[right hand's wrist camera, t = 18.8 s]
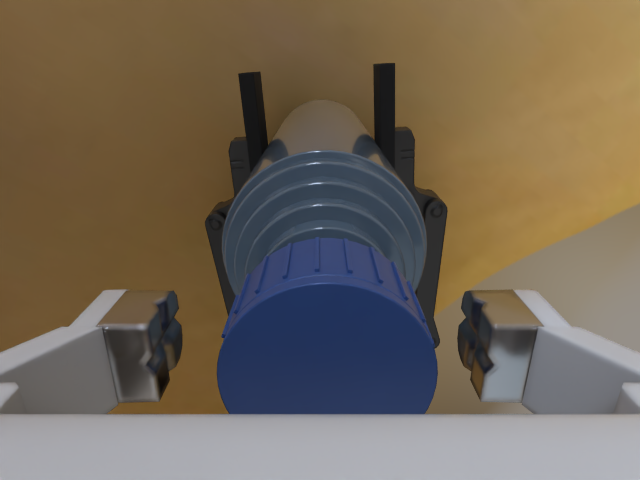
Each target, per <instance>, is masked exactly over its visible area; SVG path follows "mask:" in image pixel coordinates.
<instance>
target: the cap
mask: <svg viewBox="0 0 640 480" xmlns="http://www.w3.org/2000/svg"><path fill="white" fill-rule="evenodd" d="M221 337H222V338H224V341H223V343H222V346H221V349H220V353H219V358H218V362H217V380H218V387H219V391H220V395H221V398H222V400H223V403H224V405H225V407H226V409H227V411H228V412H229V414H425V412H426V411H427V409H428V407H429V405H430V403H431V401H432V399H433V395H434V392H435V388H436V384H437V375H438V370H437V359H436V354H435V350H434V347H435V344H434V341H433V339H432V336H431V334H430V331H429V329H428V326H427V324H426V319H425V316H424V314H423V311H422V309H421V307H420V304H419V302H418V299H417V297H416V294H415V292H414V290H413V287H412V285H411V283H410V281H406V279H405V278H404V276H403V275H402V273H401V272H400V271H399V270H398V268H397V265H396V263H395V262H394V261H393V262H391V261H390V260H388V259H387V258H386V257H384V256H383V255H382V254H380V253H379V252H377V251H375V249H374V248H373V247H367V246H365V245H362V244H360V243H357V242H353V241H349V240H348V239H346V238H344V239H336V238H319V237H315V239H308V240H304V241H300V242H296V243H293V244H292V243H289V244H288V246H285V247H283V248H281V249H279V250H277V251H276V252H274V253H272V254H271V255H270V256H267V255H266V256H265V257H264V259H263V261H262V262H261V263H260V264H259V265H258V266H257V267H256V268H255V269H254V270H253V271H252V273H251V274H249V273H248V274H247V275H246V278H245V280H244V283H243V286H242V289H241V292H240V295H236V297H235V300H234V303H233V306H232V308H231V311H230V314H229V317H228V319H227V322H226V325H225V328H224V330H223V333H222V336H221Z"/></svg>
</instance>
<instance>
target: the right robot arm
mask: <svg viewBox="0 0 640 480" xmlns="http://www.w3.org/2000/svg"><path fill="white" fill-rule="evenodd" d="M178 309H179V306H178V300H177V295H176V294H175V292H174V291H167V290H128V289H121V290H104V291H103V292H102V293H101V294H100V295H99V296H98V297H97V298H96V299H95V300H94V301H93V302H92V303H91V304H90V305H89V306H88V307H87V308H86V309H85V310H84V311H83V312H82V313H81V314H80V315H79V316H78V318H77V319H76V320H75V321H74V322H73V323H72V324H71V325H70V326H69V327H59V328H57V329H55V330H52V331H50V332H48V333H45V334H43V335H40V336H38V337H36V338H33V339H31V340H29V341H26V342H24V343H21V344H19V345H17V346H14V347H12V348H9V349H7V350H5V351H2V352H0V480H640V352H637V351H635V350H633V349H630V348H628V347H626V346H623V345H621V344H619V343H616V342H614V341H611V340H609V339H607V338H604V337H602V336H600V335H597V334H595V333H592V332H590V331H588V330H585V329H583V328H581V327H571V326H570V325H569V324H568V323H567V322H566V321H565V320H564V319H563V317H562V316H561V315H560V314H559V313H558V312H557V311H556V310H555V309H554V308H553V307H552V306H551V305H550V304H549V303H548V302H547V301H546V300H545V299H544V298H543V297H542V296H541V295H540V294H539V293H538V292H537V291H536V290H532V289H526V290H477V291H466V292H465V293H464V296H463V299H462V306H461V309H462V311H463V313H464V315H465V316H466V318H465V319H464V320H463V322H462V323H461V324H460V325H459V329H458V338H457V339H458V351H459V355H460V359H461V361H462V363H463V366H464V367H465V368H467V369H469V370H470V371H472V372H471V379H470V380H471V382H472V385H473V387H474V389H475V391H476V393H477V395H478V397H479V399H480V401H481V402H517V403H522V405H523V406H524V407H526V408H527V409H528V410H530V411H531V412H532V413H533V414H107V413H108V412H109V411H111V410H112V409H113V408H115V407H116V406H117V405H118V403H124V402H159V401H160V399H161V397H162V395H163V393H164V391H165V389H166V387H167V385H168V383H169V380H170V379H169V372H168V371H170V370H171V369H173V368H175V367H176V366H177V363H178V361H179V359H180V355H181V350H182V328H181V325H180V324H179V323H178V322H177V320H176V319H175V318H174V316H175V315H176V313H177V311H178Z"/></svg>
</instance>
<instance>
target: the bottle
mask: <svg viewBox="0 0 640 480" xmlns="http://www.w3.org/2000/svg"><path fill="white" fill-rule="evenodd" d="M315 237H319V238H336V239H344V238H346V239H348V240H349V241H353V242H357V243H360V244H362V245H365V246H367V247H373V248H374V249H375V251H377V252H379V253H380V254H382V255H383V256H384V257H386V258H387V259H388V260H390V261H391V262H393V261H394V262H395V263H396V265H397V268H398V270H399V271H400V272H401V273H402V275H403V276H404V278H405V279H406V281H410V283H411V285H412V287H413V290H414V292H415V291H416V289H417V288H418V285H419V282H420V279H421V277H422V273H423V269H424V264H425V259H426V252H427V237H426V229H425V224H424V220H423V217H422V214H421V211H420V209H419V206H418V205H417V203H416V201H415V199H414V197H413V196H412V194H411V193H410V191H409V190H408V188H407V187H406V185H405V184H404V183H403V181H402V180H401V178H400V177H399V175H398V174H397V173H396V171H395V170H394V168H393V167H392V165H391V164H390V162H389V161H388V160H387V158H386V157H385V155H384V154H383V152H382V151H381V150H380V148H379V147H378V145H377V144H376V142H375V141H374V139H373V138H372V137H371V135H370V134H369V132H368V131H367V129H366V128H365V126H364V125H363V124H362V122H361V121H360V119H359V118H358V117H357V115H356V114H355V113H354V112H353V111H352V110H350V109H349V108H348V107H346V106H345V105H343V104H341V103H338V102H336V101H332V100H324V99H322V100H313V101H309V102H306V103H304V104H301V105H300V106H298V107H296V108H295V109H294V110H293V111H291V112H290V113H289V115H288V116H287V117H286V118H285V120H284V121H283V123H282V124H281V126H280V127H279V129H278V131H277V132H276V134H275V135H274V137H273V139H272V140H271V142H270V143H269V145H268V147H267V148H266V150H265V151H264V153H263V155H262V156H261V158H260V159H259V161H258V163H257V164H256V166H255V167H254V169H253V170H252V172H251V174H250V175H249V177H248V178H247V180H246V182H245V183H244V185H243V186H242V188H241V190H240V191H239V193H238V194H237V196H236V198H235V199H234V201H233V203H232V205H231V207H230V209H229V211H228V214H227V217H226V220H225V223H224V229H223V235H222V254H223V262H224V266H225V269H226V273H227V276H228V280H229V283H230V285H231V287H232V290H233V292H234V294H235V295H240V292H241V289H242V286H243V283H244V280H245V278H246V275H247V274H248V273H249V274H251V273H252V271H253V270H254V269H255V268H256V267H257V266H258V265H259V264H260V263H261V262H262V261H263V259H264V257H265V256H266V255H267V256H270V255H271V254H272V253H274V252H276V251H277V250H279V249H281V248H283V247H285V246H288V244H289V243H292V244H293V243H296V242H300V241H304V240H308V239H315Z"/></svg>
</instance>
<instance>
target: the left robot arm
mask: <svg viewBox="0 0 640 480" xmlns="http://www.w3.org/2000/svg"><path fill="white" fill-rule="evenodd" d="M373 66H374V129H375V142H376V144H377V145H378V147H379V148H380V150H381V151H382V152H383V154H384V155H385V157H386V158H387V160H388V161H389V162H390V164H391V165H392V167H393V168H394V170H395V171H396V173H397V174H398V175H399V177H400V178H401V180H402V181H403V183H404V184H405V185H406V187H407V188H408V190H409V191H410V193H411V194H412V196H413V197H414V199H415V201H416V203H417V205H418V206H419V209H420V211H421V214H422V217H423V220H424V224H425V229H426V237H427V252H426V259H425V264H424V269H423V273H422V277H421V279H420V282H419V285H418V288H417V289H416V291H415V294H416V297H417V299H418V302H419V304H420V307H421V309H422V311H423V314H424V316H425V319H426V324H427V326H428V329H429V331H430V334H431V336H432V339H433V341H434V344H435V347H434V349H435V348H436V347H437V346H438V345H439V343H440V339H439V335H438V332H437V328H436V325H435V321H434V318H433V317H434V310H435V302H436V294H437V287H438V279H439V272H440V264H441V256H442V249H443V241H444V233H445V226H446V218H447V207H446V205H445V203H444V202H443V201H442V200H441V199H440V198H439V197H438V195H437V194H436V193H435V192H434V191H432V190H424V189H420V188H417V187H415V186H414V149H415V139H414V137H413V134H412V131H411V130H410V129H409V128H407V127H395V63H382V64H373ZM238 75H239V83H240V91H241V99H242V107H243V116H244V124H245V132H246V137H236V138H234V139H233V140H232V141H231V144H230V148H229V157H230V165H231V172H232V179H233V186H234V198H232V199H230V200H228V201H225V202H220V203H218V204H217V205H216V206H215V207H214V209H213V210H212V211H211V213H210V214H209V215H208V217H207V218H206V221H205V226H206V230H207V234H208V238H209V242H210V246H211V250H212V254H213V258H214V262H215V265H216V269H217V273H218V277H219V281H220V285H221V289H222V293H223V297H224V301H225V305H226V309H227V313H228V317H229V314H230V311H231V308H232V306H233V303H234V300H235V297H236V295H235V294H234V292H233V290H232V287H231V285H230V283H229V280H228V276H227V273H226V269H225V266H224V262H223V254H222V235H223V229H224V223H225V220H226V217H227V214H228V211H229V209H230V207H231V205H232V203H233V201H234V199H235V198H236V196H237V194H238V193H239V191H240V190H241V188H242V186H243V185H244V183H245V182H246V180H247V178H248V177H249V175H250V174H251V172H252V170H253V169H254V167H255V166H256V164H257V163H258V161H259V159H260V158H261V156H262V155H263V153H264V151H265V150H266V148H267V147H268V140H267V131H266V121H265V112H264V102H263V93H262V83H261V74H260V72H248V73H240V74H238Z"/></svg>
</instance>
